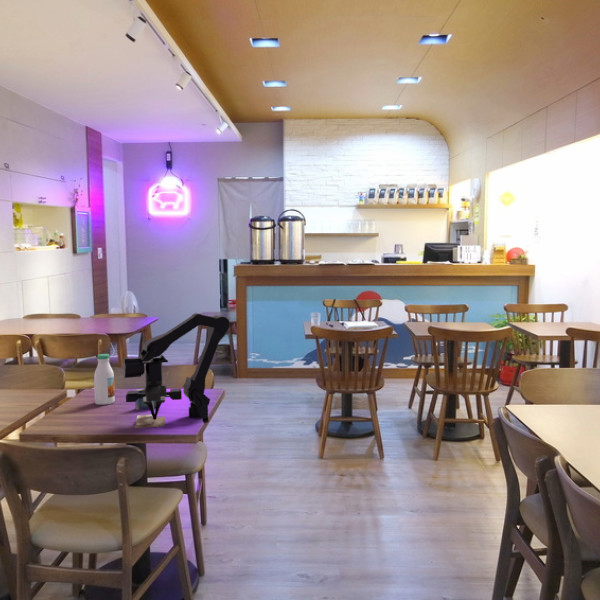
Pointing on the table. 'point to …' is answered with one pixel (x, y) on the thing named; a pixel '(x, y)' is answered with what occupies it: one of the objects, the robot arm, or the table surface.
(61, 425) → the table surface
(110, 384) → the milk bottle
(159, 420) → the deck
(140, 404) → the flask
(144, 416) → the coaster
